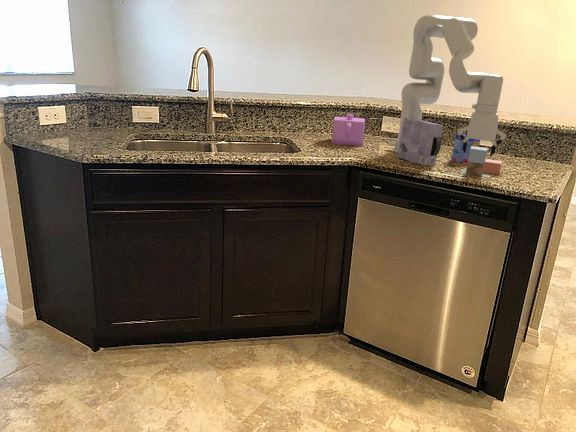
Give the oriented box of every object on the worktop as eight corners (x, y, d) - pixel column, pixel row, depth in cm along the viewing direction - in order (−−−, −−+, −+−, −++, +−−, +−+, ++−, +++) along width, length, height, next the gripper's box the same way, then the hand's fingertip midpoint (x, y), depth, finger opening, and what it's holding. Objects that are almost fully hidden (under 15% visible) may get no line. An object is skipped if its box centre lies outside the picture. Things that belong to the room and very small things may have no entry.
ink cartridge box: (458, 164, 202) (464, 130, 197) (449, 161, 207) (455, 128, 202) (476, 163, 206) (482, 130, 201) (467, 160, 211) (473, 128, 206)
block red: (482, 173, 188) (485, 161, 187) (483, 170, 194) (486, 159, 192) (498, 176, 186) (501, 163, 184) (499, 173, 191) (502, 161, 190)
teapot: (362, 139, 249) (365, 112, 245) (362, 148, 226) (365, 118, 221) (333, 137, 251) (336, 110, 246) (331, 145, 228) (333, 116, 223)
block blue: (467, 161, 181) (470, 148, 179) (469, 158, 186) (471, 146, 184) (484, 163, 178) (487, 150, 177) (485, 160, 184) (487, 148, 182)
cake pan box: (438, 167, 195) (445, 124, 190) (429, 168, 193) (436, 124, 187) (404, 157, 211) (410, 117, 205) (396, 158, 208) (402, 117, 202)
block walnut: (465, 174, 183) (467, 161, 181) (466, 170, 188) (469, 158, 186) (481, 176, 180) (484, 163, 179) (482, 173, 185) (485, 160, 184)
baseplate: (459, 175, 184) (460, 173, 183) (461, 171, 190) (461, 169, 189) (487, 179, 180) (487, 177, 180) (488, 175, 186) (488, 173, 186)
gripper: (461, 107, 176) (453, 152, 182) (511, 112, 169) (501, 159, 175) (463, 105, 182) (455, 149, 188) (511, 110, 176) (501, 155, 182)
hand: (477, 154), depth 182 cm, fingers open, 9 cm apart
